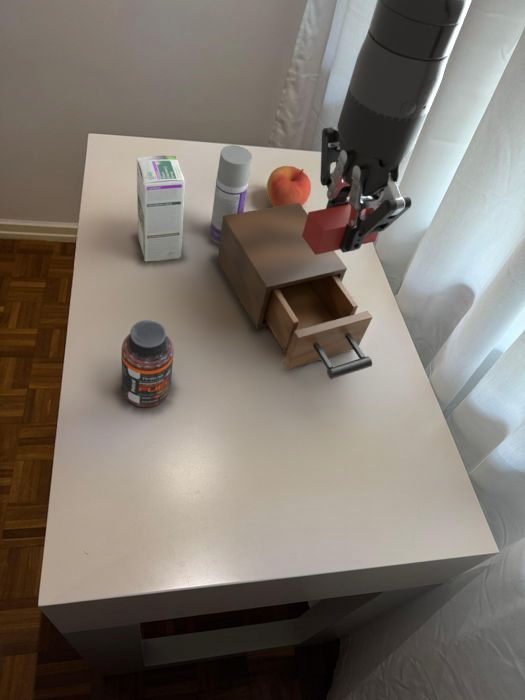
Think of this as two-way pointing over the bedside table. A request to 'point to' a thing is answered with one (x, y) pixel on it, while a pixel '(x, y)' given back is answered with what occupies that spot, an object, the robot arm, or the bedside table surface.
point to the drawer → (318, 324)
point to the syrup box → (160, 207)
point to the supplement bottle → (147, 364)
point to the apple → (288, 186)
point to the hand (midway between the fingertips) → (339, 237)
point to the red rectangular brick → (329, 229)
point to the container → (230, 186)
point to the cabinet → (270, 255)
